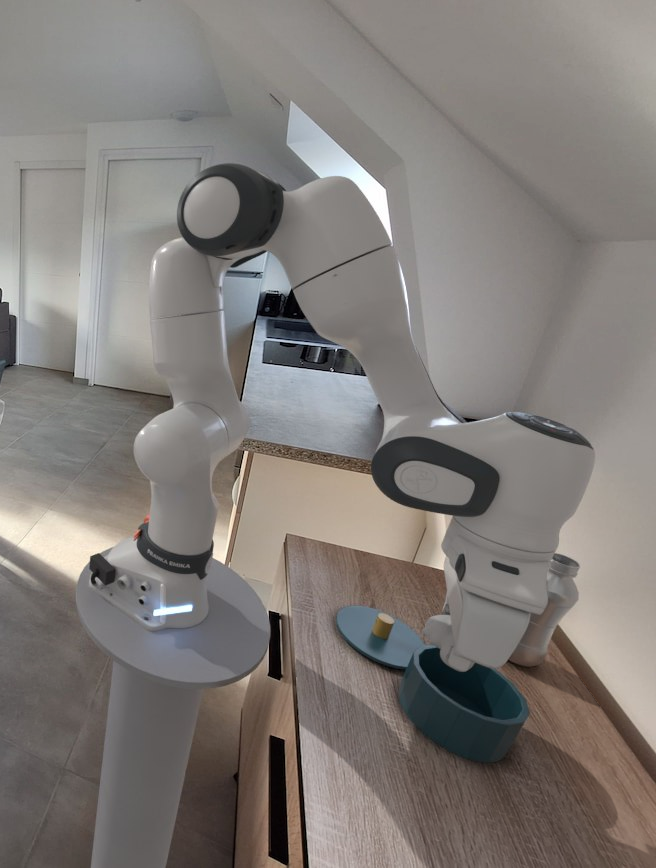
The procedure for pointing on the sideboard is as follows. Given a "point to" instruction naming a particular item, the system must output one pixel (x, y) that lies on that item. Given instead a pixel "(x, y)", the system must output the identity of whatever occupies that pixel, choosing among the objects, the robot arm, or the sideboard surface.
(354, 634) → the tin lid
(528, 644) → the silver bottle
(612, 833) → the sideboard surface
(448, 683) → the tin
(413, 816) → the sideboard surface
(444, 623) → the pale two-lobed sculpture
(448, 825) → the sideboard surface
